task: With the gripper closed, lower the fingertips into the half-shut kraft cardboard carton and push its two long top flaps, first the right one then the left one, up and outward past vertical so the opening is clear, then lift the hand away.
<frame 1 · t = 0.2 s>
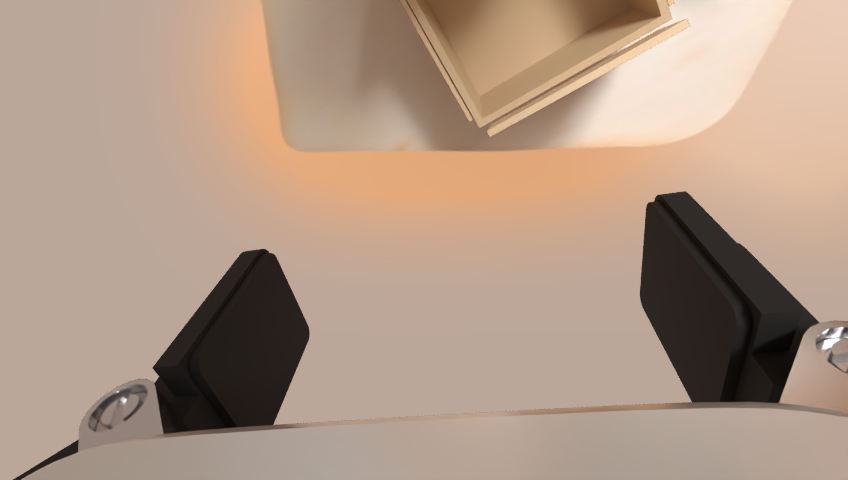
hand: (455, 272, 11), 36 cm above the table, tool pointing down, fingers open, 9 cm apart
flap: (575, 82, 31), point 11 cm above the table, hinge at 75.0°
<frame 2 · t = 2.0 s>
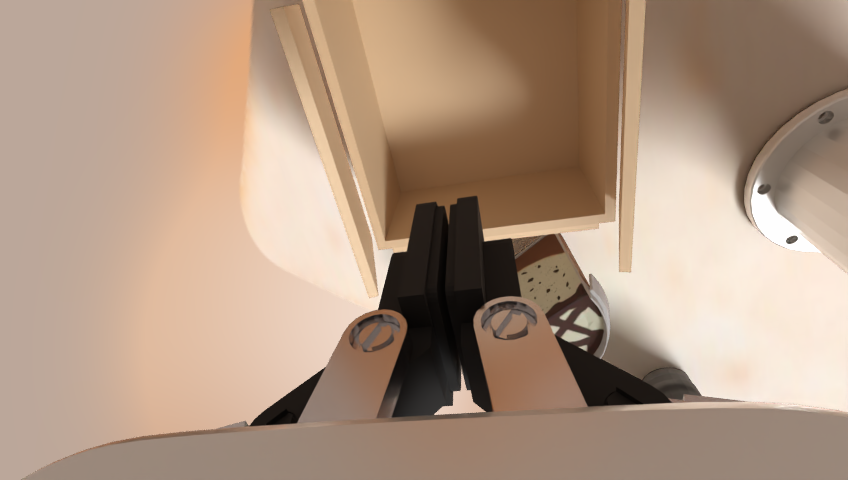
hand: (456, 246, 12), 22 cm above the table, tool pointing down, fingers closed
carton: (473, 80, 30), on the table
food container: (534, 277, 39), on the table
beverage cup: (664, 381, 44), on the table
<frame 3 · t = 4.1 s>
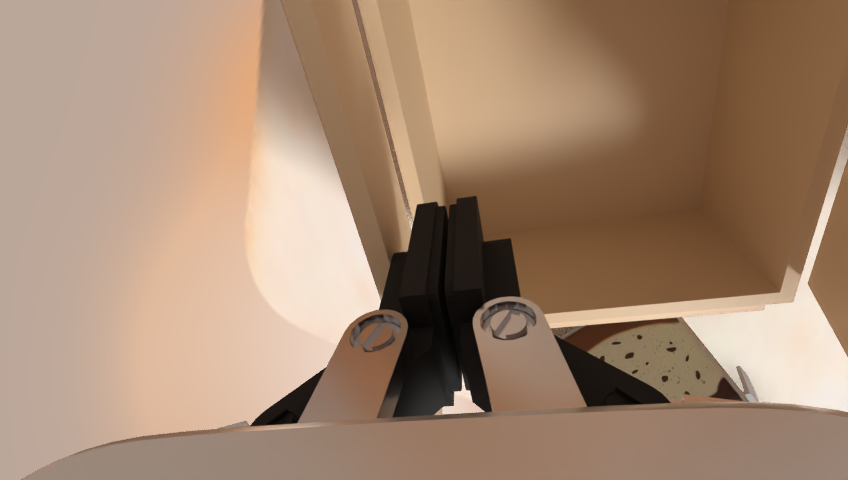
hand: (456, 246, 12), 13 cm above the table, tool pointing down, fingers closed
carton: (565, 95, 22), on the table
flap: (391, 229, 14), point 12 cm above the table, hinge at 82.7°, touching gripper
food container: (616, 339, 31), on the table
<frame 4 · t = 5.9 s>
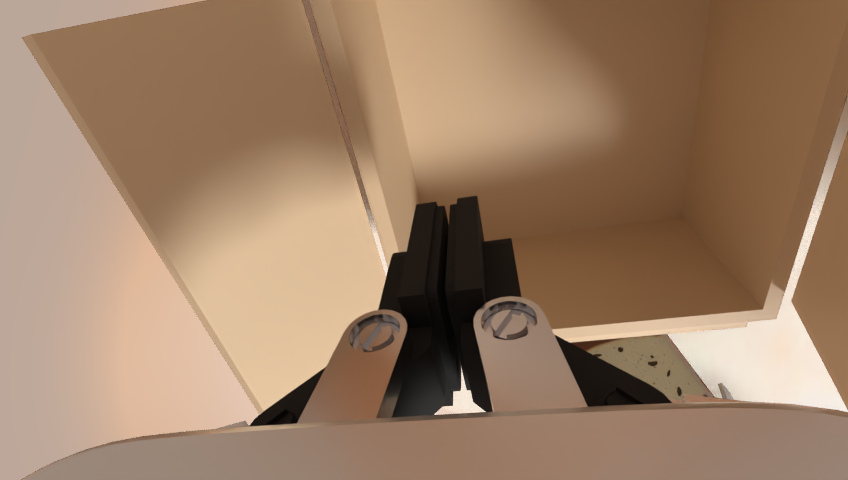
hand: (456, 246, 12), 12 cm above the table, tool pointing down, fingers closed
carton: (542, 100, 21), on the table
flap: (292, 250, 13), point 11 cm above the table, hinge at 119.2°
food container: (598, 349, 30), on the table
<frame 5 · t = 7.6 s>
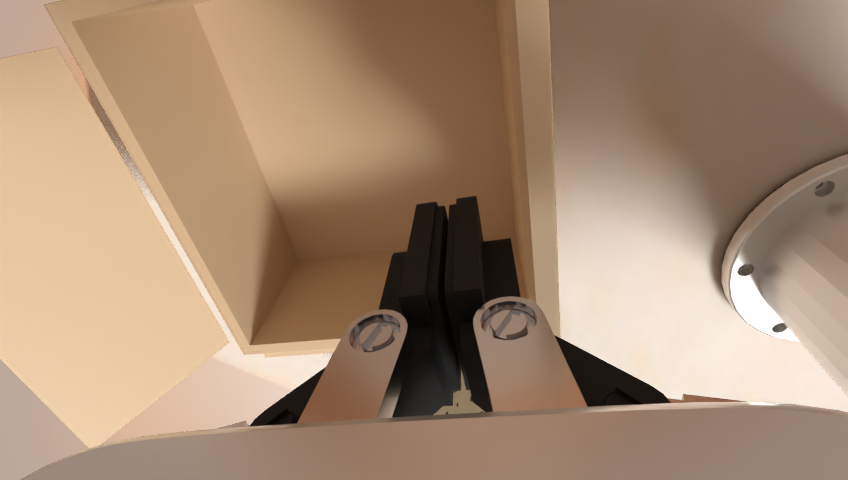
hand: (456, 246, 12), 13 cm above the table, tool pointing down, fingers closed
carton: (374, 130, 23), on the table
food container: (472, 355, 32), on the table
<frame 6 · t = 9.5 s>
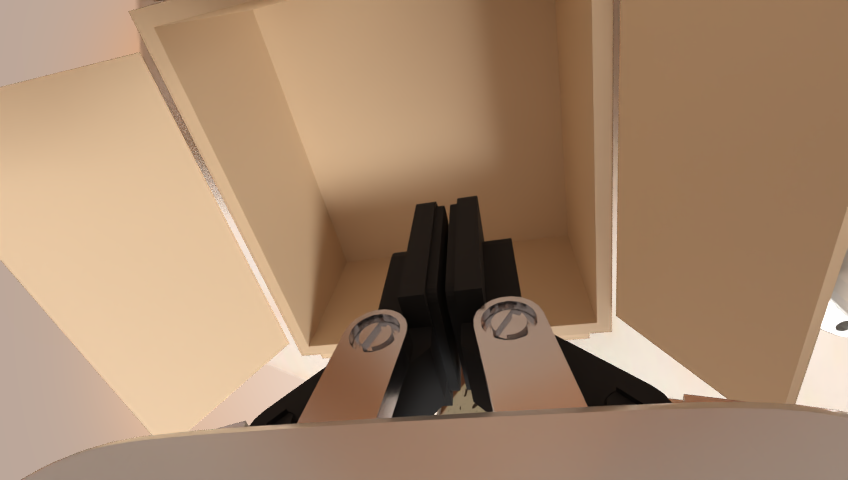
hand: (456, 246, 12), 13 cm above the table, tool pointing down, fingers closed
carton: (427, 130, 23), on the table
food container: (517, 356, 32), on the table
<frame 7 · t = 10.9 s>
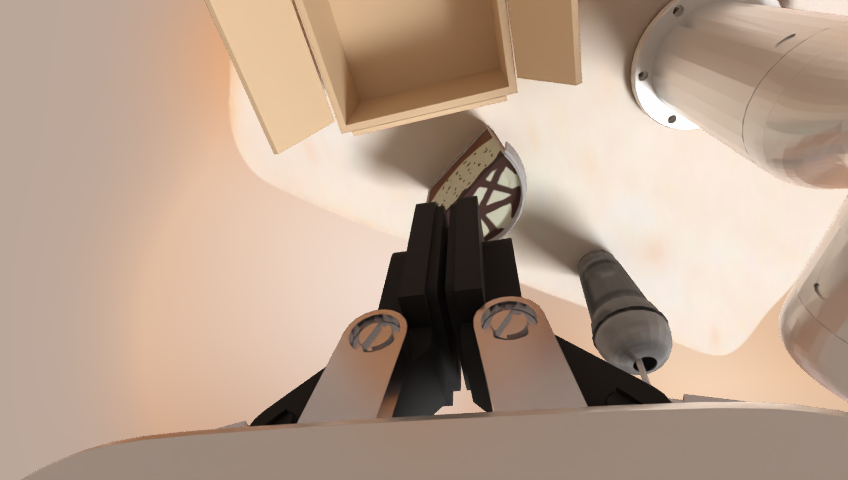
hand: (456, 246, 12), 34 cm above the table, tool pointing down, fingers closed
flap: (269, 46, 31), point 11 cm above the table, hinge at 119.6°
food container: (478, 174, 47), on the table
beverage cup: (596, 265, 53), on the table
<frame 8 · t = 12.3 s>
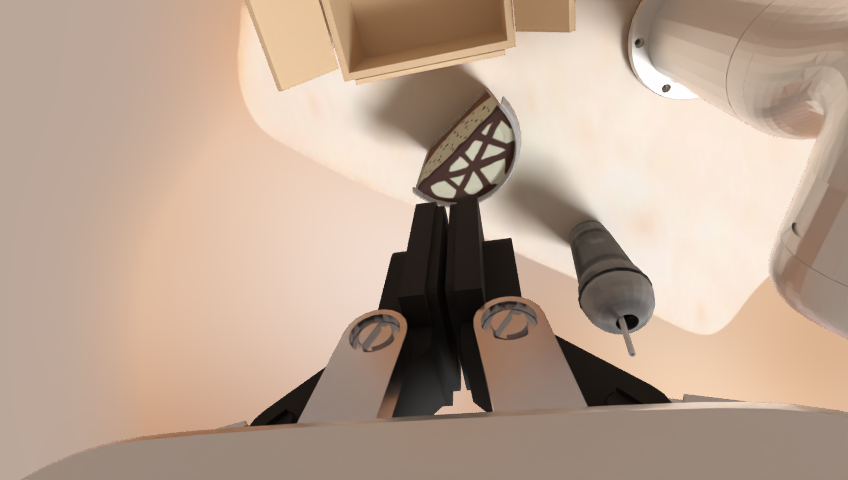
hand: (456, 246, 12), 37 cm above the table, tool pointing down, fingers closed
food container: (476, 137, 48), on the table
beverage cup: (587, 235, 54), on the table
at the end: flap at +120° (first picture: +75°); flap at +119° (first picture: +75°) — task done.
